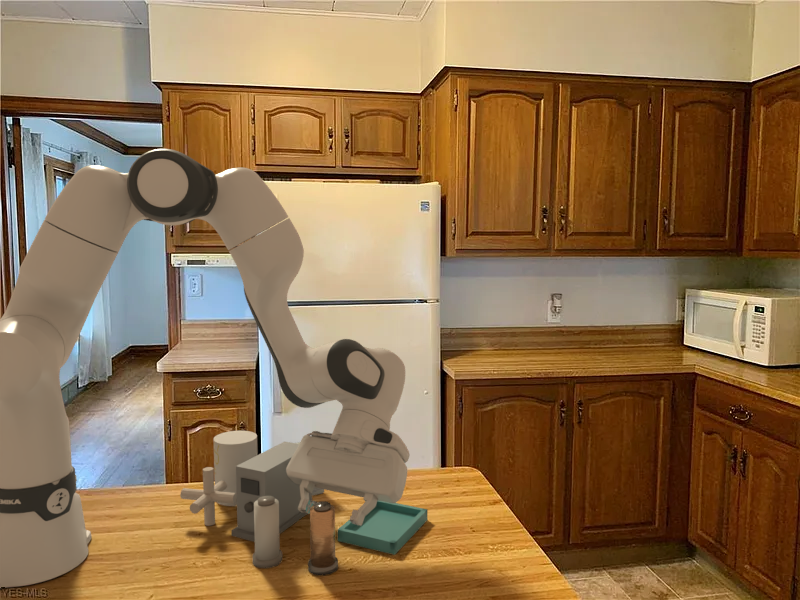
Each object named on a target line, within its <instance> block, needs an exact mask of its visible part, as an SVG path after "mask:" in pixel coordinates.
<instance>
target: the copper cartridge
mask: <svg viewBox="0 0 800 600" xmlns="http://www.w3.org/2000/svg"><path fill="white" fill-rule="evenodd" d="M309 532H310V533H309V535H310V536H309V539H310V551H309V552H310V558H309V559H308V561H307V571H308V572H309V573H310V574H312V575H314V576H320V577H321V576H329V575H332V574H334V573H335V572H337V571H338V569H339V558H338V557H337V556H336V507H335V506H334V505H333V504H331V502H329V501H326V500H325V501H317V503H315V504H314V505H313V506H312V507H311V508H310V513H309Z"/></svg>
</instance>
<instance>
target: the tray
mask: <svg viewBox="0 0 800 600" xmlns="http://www.w3.org/2000/svg"><path fill="white" fill-rule="evenodd" d="M427 521H428V509H427V508H422V507H418V506H417V507H416V506H412V505H409V504H402V503H398V502H396V503H394V504H393V503H388V502H383V501H377V504H376V506H375V508H374V509H372V510H371V511H370V512H369V513H368V514H367V515H365V518H364V521H363V523H362V525H361V526H360V525H356V524H352V522H350V519H348V521H346V522H345V523H343V525H341V526H340V527H339V528H338V529H337V530H336V531H337V532H336V533H337V542H340V543H345V544H348V545H352V546H356V547H361V548H365V549H369V550H374V551H378V552H381V553H385V554H389V555H393V556H394V555H396V554H397V553H398V552H399V551H400V550H401V549H402V548H403V547H404V546H405V544H406V543H407V542H409V541H410V539H411V538H412V537H413V536H414V535H415V534H416V533H417V532H418V531H419V530H420V529H421V528H422V526H423V525H424V524H426V523H427Z"/></svg>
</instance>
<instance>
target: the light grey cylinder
mask: <svg viewBox="0 0 800 600" xmlns="http://www.w3.org/2000/svg"><path fill="white" fill-rule="evenodd" d="M257 455H258V435H257V433H256V432H253V431H249V430H230V431H226V432H225V431H224V432H221V433H219V434H217V435H215V436H214V437H213V468H214V485H216V484H217V483H218V482H219V481H225V482H226V484H227V488H226V489H225V490H224V491H223V492H231V493H237V489H236V466H237V465H239V464H241V463H243V462H245V461H247V460H249V459H251V458H253V457H255V456H257ZM216 503H217V504H218V505H221V506H225V507H237V501H236V503H235V504H231V503H221V502H216Z"/></svg>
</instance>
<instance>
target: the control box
mask: <svg viewBox="0 0 800 600" xmlns="http://www.w3.org/2000/svg"><path fill="white" fill-rule="evenodd" d="M296 443H297V442H291V441H282V442H281V443H279V444H277V445H275V446H273V447H271V448H270V449H267V450H265V451H262V452H261V453H259V454H257V456H255V457H253V458H251V459H249V460H247V461H245V462H243V463H241V464H239V465H237V466H236V489H237V506H236V514H237V515H236V519H237V521H236V522H237V526H236V527H234V528H233V529H231V537H236V538H238V539H243V540H245V541H250V542H253V543H255V533H254V502H255V501H257V500H258V498H260V497H262V496H273V497H274V498H275V499H277V500H278V501H279V535H280V534H282V533H283V532H285V531H286V530H287V529H289V528H290V527H292V526H293V525H294V524H295V523H297V522H298V521H300V520H301V519H302V517H303V518H304V517H305V516H307V515H308V514H307V513H302V512H300V511H299V510H298V506H299V503H300V501H301V494H300V484H296V483H294V482H293V481H292V480H291V479H290V478H289V477H288V476H287V472H286V468H287V466H288V464H289V462H290V460H291V458H292V456H293V454H294V453H295V451H296V449H297V448H298V446H299V444H296ZM309 500H310V501H311V502H312V503H313V505H314V504H315V503H317V502H318V501H315V500H313V496H312V493H309ZM299 519H300V520H299Z"/></svg>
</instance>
